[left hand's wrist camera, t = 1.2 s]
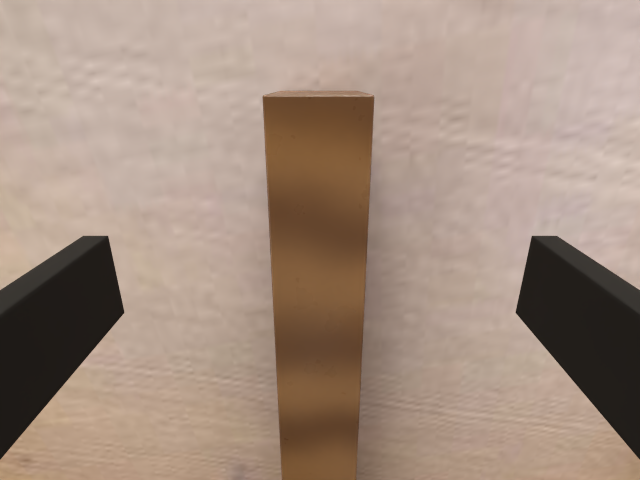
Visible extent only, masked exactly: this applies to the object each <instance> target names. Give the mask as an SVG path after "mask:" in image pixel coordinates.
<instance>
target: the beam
mask: <svg viewBox="0 0 640 480" xmlns="http://www.w3.org/2000/svg"><path fill="white" fill-rule="evenodd" d="M263 112H264V132H265V152H266V172H267V191H268V211H269V231H270V251H271V271H272V290H273V310H274V330H275V350H276V369H277V389H278V409H279V429H280V449H281V468H282V480H356V468H357V447H358V426H359V405H360V384H361V364H362V343H363V322H364V301H365V280H366V259H367V238H368V217H369V196H370V175H371V154H372V133H373V112H374V96H373V95H370V94H366V93H363V92H359V91H279V92H275V93H271V94H267V95H264V96H263Z"/></svg>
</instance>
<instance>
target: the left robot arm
mask: <svg viewBox="0 0 640 480" xmlns="http://www.w3.org/2000/svg"><path fill="white" fill-rule="evenodd" d="M123 314H124V309H123V304H122V299H121V295H120V290H119V285H118V281H117V276H116V271H115V266H114V262H113V257H112V252H111V248H110V243H109V238H108V236H82V237H81V238H79V239H78V240H76V241H75V242H73V243H72V244H70V245H69V246H67V247H66V248H64V249H63V250H61V251H60V252H58V253H56V254H55V255H53V256H52V257H50V258H49V259H47V260H46V261H44V262H43V263H41V264H40V265H38V266H37V267H35V268H34V269H32V270H31V271H29V272H27V273H26V274H24V275H23V276H21V277H20V278H18V279H17V280H15V281H14V282H12V283H11V284H9V285H8V286H6V287H5V288H3V289H1V290H0V459H1V458H2V457H3V456H4V454H5V453H6V452H7V451H8V450H9V448H10V447H11V446H12V445H13V444H14V443H15V441H16V440H17V439H18V438H19V437H20V435H21V434H22V433H23V432H24V431H25V430H26V428H27V427H28V426H29V425H30V424H31V422H32V421H33V420H34V419H35V418H36V417H37V415H38V414H39V413H40V412H41V411H42V409H43V408H44V407H45V406H46V405H47V404H48V402H49V401H50V400H51V399H52V398H53V396H54V395H55V394H56V393H57V392H58V391H59V389H60V388H61V387H62V386H63V385H64V383H65V382H66V381H67V380H68V379H69V377H70V376H71V375H72V374H73V373H74V372H75V370H76V369H77V368H78V367H79V366H80V364H81V363H82V362H83V361H84V360H85V359H86V357H87V356H88V355H89V354H90V353H91V351H92V350H93V349H94V348H95V347H96V346H97V344H98V343H99V342H100V341H101V340H102V338H103V337H104V336H105V335H106V334H107V333H108V331H109V330H110V329H111V328H112V327H113V325H114V324H115V323H116V322H117V321H118V320H119V318H120V317H121V316H122V315H123ZM516 314H517V315H518V316H519V317H520V318H521V320H522V321H523V322H524V323H525V324H526V325H527V327H528V328H529V329H530V330H531V331H532V333H533V334H534V335H535V336H536V337H537V338H538V340H539V341H540V342H541V343H542V344H543V346H544V347H545V348H546V349H547V350H548V351H549V353H550V354H551V355H552V356H553V357H554V359H555V360H556V361H557V362H558V363H559V364H560V366H561V367H562V368H563V369H564V370H565V372H566V373H567V374H568V375H569V376H570V377H571V379H572V380H573V381H574V382H575V383H576V385H577V386H578V387H579V388H580V389H581V391H582V392H583V393H584V394H585V395H586V396H587V398H588V399H589V400H590V401H591V402H592V404H593V405H594V406H595V407H596V408H597V409H598V411H599V412H600V413H601V414H602V415H603V417H604V418H605V419H606V420H607V421H608V422H609V424H610V425H611V426H612V427H613V428H614V430H615V431H616V432H617V433H618V434H619V435H620V437H621V438H622V439H623V440H624V441H625V443H626V444H627V445H628V446H629V447H630V448H631V450H632V451H633V452H634V453H635V454H636V456H637V457H638V458H639V459H640V290H639V289H637V288H635V287H634V286H632V285H631V284H629V283H628V282H626V281H625V280H623V279H622V278H620V277H619V276H617V275H616V274H614V273H613V272H611V271H609V270H608V269H606V268H605V267H603V266H602V265H600V264H599V263H597V262H596V261H594V260H593V259H591V258H590V257H588V256H587V255H585V254H584V253H582V252H580V251H579V250H577V249H576V248H574V247H573V246H571V245H570V244H568V243H567V242H565V241H564V240H562V239H561V238H559V237H558V236H532V238H531V243H530V248H529V252H528V257H527V262H526V266H525V271H524V276H523V281H522V285H521V290H520V295H519V299H518V304H517V309H516Z"/></svg>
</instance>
